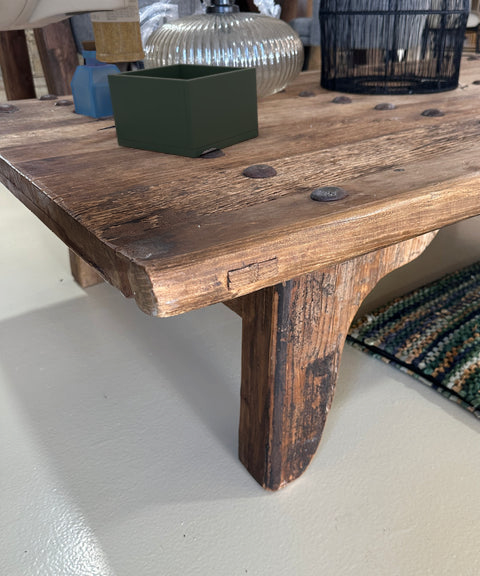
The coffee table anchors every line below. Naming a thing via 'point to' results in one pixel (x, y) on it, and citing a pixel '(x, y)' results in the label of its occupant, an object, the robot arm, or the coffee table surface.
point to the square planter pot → (184, 107)
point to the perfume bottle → (92, 85)
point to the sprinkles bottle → (118, 34)
